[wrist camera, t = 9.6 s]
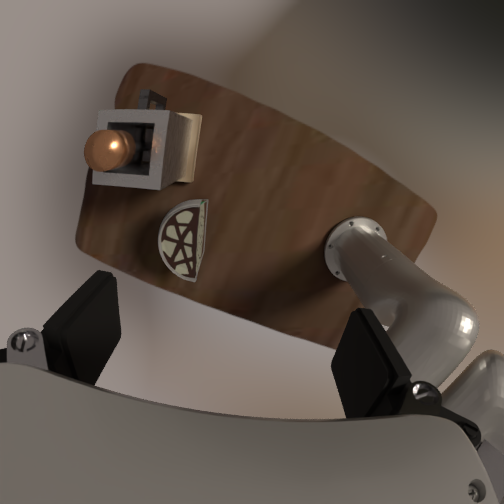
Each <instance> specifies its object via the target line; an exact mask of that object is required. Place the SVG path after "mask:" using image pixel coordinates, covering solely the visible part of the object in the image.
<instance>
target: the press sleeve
mask: <svg viewBox="0 0 504 504" xmlns="http://www.w3.org/2000/svg"><path fill="white" fill-rule="evenodd" d="M166 101H167V98H165V97H163V96H161V95H159V94H157V93H155V92H154V91H152V90H141V91H140V97H139V103H138V109H137V110H134V109H125V110H99V113H98V121H97V129H96V131H98V130H122V131H126V132H128V133H129V134H131V136H132V137H133V139H134V141H135V143H138V142H145V134H146V129H147V127H154V134H153V142H152V150H151V159H150V163H143V161H142V160H143V151H142V152H135V154H134V157H133V159H132V160H131V161H130V162H129V163H128V164H127V165H125V166H123V167H120V168H115V169H112V170H108V171H104V172H97V171H94V170H93V180H92V184H98V185H110V186H122V187H133V188H144V189H154V190H161V189H163V188H165V187H167V186H168V185H170V184H172V183H174V182H175V181H177V180H179V179H181V178H182V177H184V176H186V167H187V159H188V152H189V144H190V137H191V130H192V124H193V120H191V119H189V118H187V117H184V116H182V115H179V114H177V113H175V112H172V111H169V110H165V107H166ZM150 103H152V104H155V105H156V109H155V110H149V107H150Z"/></svg>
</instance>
